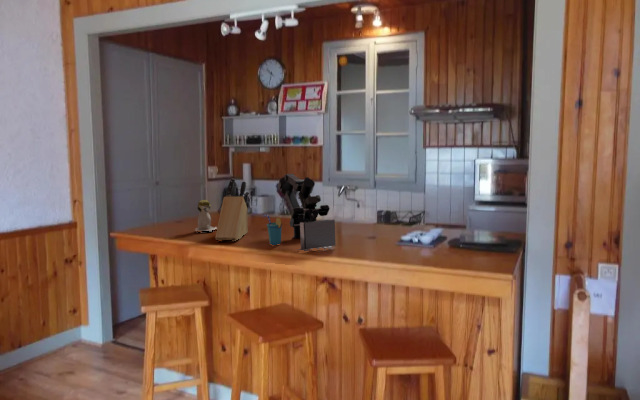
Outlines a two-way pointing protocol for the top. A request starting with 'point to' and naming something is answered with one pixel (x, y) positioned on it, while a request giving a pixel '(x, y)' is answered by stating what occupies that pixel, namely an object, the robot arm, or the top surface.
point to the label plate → (327, 247)
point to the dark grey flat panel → (317, 234)
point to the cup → (274, 231)
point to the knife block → (233, 214)
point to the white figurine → (204, 217)
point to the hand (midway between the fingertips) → (315, 225)
